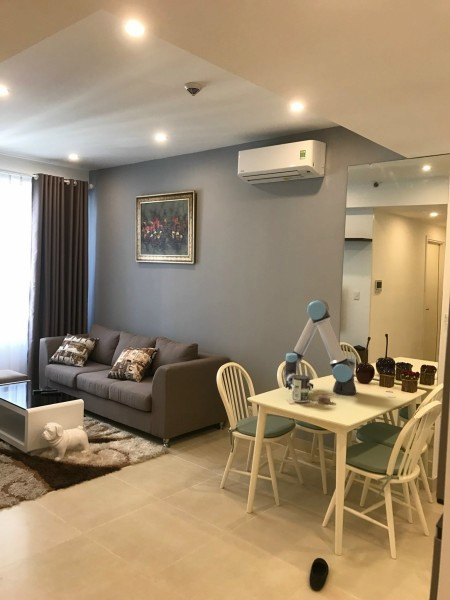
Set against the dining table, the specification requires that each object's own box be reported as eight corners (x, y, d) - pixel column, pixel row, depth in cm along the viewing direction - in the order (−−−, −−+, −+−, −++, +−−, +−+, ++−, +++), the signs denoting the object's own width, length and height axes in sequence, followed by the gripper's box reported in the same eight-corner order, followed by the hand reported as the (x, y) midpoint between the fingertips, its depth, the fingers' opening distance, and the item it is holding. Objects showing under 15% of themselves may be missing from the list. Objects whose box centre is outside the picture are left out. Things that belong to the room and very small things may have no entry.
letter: (310, 400, 299) (310, 399, 299) (315, 405, 288) (315, 404, 288) (285, 400, 298) (285, 399, 298) (289, 405, 287) (289, 404, 287)
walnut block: (329, 402, 297) (330, 395, 297) (329, 405, 290) (330, 398, 290) (318, 401, 298) (318, 394, 298) (318, 404, 292) (318, 397, 291)
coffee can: (309, 398, 297) (310, 375, 296) (308, 402, 287) (309, 379, 286) (292, 396, 299) (293, 374, 298) (291, 401, 289) (292, 377, 288)
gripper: (276, 374, 309) (284, 382, 287) (311, 375, 311) (321, 383, 289) (276, 386, 310) (283, 395, 287) (311, 386, 312) (320, 395, 289)
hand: (302, 389), depth 288 cm, fingers closed on coffee can, 10 cm apart
